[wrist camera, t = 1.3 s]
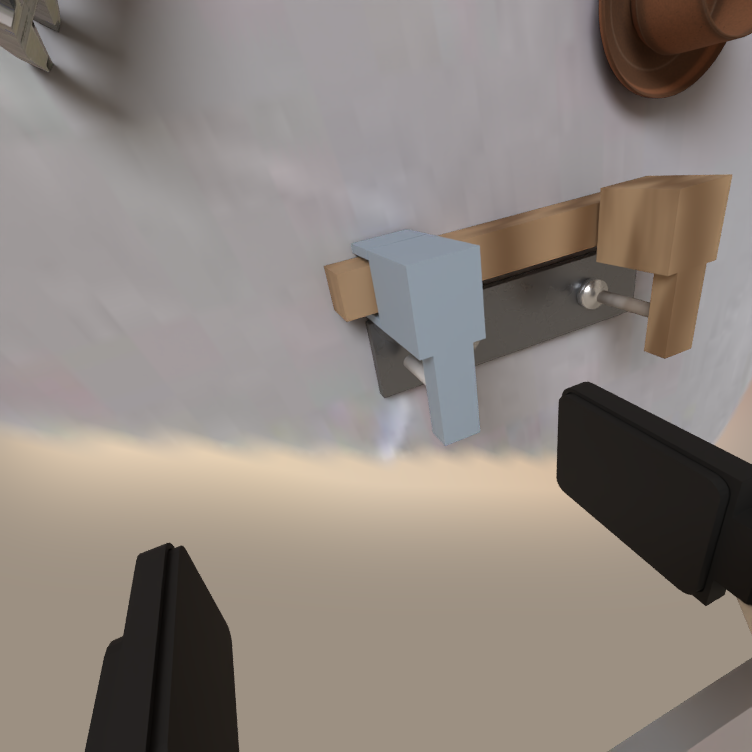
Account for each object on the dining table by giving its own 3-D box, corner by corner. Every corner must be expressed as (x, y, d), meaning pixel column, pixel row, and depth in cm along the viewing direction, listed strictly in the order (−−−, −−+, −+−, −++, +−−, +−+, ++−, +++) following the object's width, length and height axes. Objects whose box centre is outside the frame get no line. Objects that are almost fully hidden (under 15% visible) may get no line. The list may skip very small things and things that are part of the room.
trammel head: (407, 229, 28) (479, 245, 21) (427, 373, 33) (491, 427, 26) (350, 243, 27) (405, 266, 20) (380, 389, 33) (433, 450, 25)
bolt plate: (630, 240, 36) (648, 242, 34) (624, 307, 39) (639, 312, 37) (365, 321, 30) (373, 328, 29) (380, 393, 33) (388, 402, 32)
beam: (617, 173, 33) (744, 171, 25) (607, 308, 38) (710, 340, 30) (320, 250, 27) (366, 277, 20) (354, 396, 32) (402, 462, 25)
